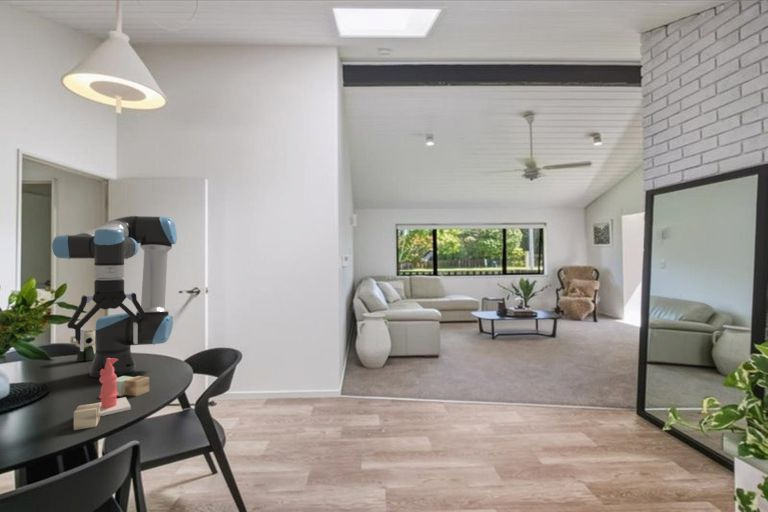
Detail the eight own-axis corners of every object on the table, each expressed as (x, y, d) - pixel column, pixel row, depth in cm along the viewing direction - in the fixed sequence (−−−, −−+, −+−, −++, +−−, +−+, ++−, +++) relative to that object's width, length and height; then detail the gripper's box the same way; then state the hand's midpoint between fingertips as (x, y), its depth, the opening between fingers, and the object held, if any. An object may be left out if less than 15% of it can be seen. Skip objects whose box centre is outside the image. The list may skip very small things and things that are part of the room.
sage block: (109, 394, 130) (109, 380, 130) (123, 389, 135) (123, 375, 135) (120, 396, 129) (120, 381, 129) (134, 391, 134) (134, 377, 134)
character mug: (68, 364, 164) (68, 334, 164) (72, 360, 170) (72, 331, 170) (99, 360, 169) (99, 331, 169) (102, 357, 176) (102, 329, 176)
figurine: (113, 401, 122) (113, 354, 122) (122, 404, 119) (122, 356, 119) (95, 406, 117) (95, 358, 117) (104, 410, 115) (104, 360, 115)
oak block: (125, 394, 130) (125, 380, 130) (138, 389, 135) (138, 375, 135) (136, 396, 129) (136, 381, 129) (149, 391, 134) (149, 377, 134)
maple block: (78, 423, 109) (78, 405, 109) (99, 419, 111) (100, 402, 111) (73, 430, 104) (73, 412, 104) (96, 426, 107) (96, 409, 106)
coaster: (87, 408, 119) (87, 404, 119) (125, 400, 125) (125, 397, 125) (90, 418, 111) (90, 415, 111) (130, 409, 118) (130, 406, 118)
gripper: (57, 281, 107) (57, 356, 107) (158, 277, 124) (158, 342, 124) (56, 279, 112) (56, 351, 113) (153, 276, 129) (153, 338, 130)
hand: (109, 346), depth 118 cm, fingers open, 13 cm apart
